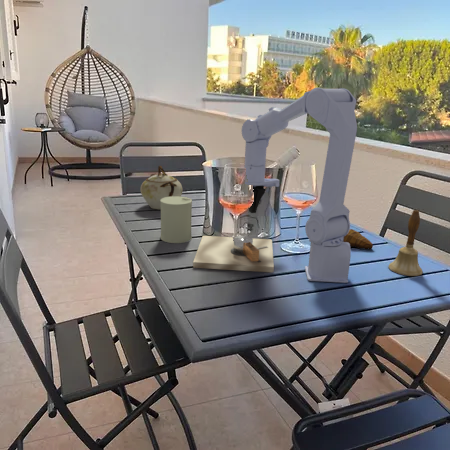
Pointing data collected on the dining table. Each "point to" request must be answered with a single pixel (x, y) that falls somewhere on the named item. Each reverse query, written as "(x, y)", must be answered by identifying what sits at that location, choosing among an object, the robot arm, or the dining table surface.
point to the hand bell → (408, 251)
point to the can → (176, 219)
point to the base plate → (232, 255)
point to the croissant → (357, 240)
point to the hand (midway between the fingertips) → (252, 212)
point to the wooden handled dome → (246, 247)
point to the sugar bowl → (160, 188)
